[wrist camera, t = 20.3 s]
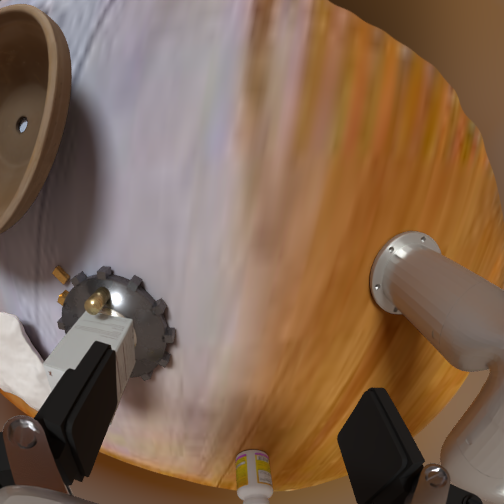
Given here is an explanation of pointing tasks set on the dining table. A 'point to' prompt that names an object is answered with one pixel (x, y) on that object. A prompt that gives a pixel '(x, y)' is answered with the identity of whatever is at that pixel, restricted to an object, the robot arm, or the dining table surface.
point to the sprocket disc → (121, 314)
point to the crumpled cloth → (21, 364)
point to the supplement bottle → (253, 477)
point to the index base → (61, 275)
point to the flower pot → (29, 105)
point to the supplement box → (82, 338)
